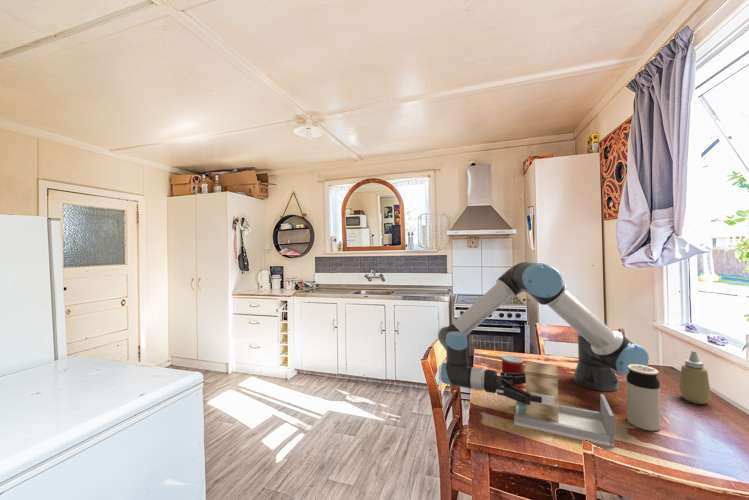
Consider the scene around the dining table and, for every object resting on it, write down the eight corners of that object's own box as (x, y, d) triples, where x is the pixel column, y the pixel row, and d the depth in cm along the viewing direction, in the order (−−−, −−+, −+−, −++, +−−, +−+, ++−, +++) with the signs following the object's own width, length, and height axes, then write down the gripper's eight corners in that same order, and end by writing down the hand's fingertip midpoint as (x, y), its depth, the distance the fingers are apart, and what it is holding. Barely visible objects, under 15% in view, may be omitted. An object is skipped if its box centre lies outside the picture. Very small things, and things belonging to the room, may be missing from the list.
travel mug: (663, 434, 93) (662, 375, 93) (629, 427, 97) (628, 370, 97) (656, 421, 100) (656, 366, 100) (625, 415, 104) (624, 362, 104)
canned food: (525, 389, 124) (525, 362, 124) (504, 388, 126) (504, 361, 125) (520, 381, 131) (520, 355, 131) (500, 379, 133) (500, 354, 133)
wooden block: (557, 412, 104) (556, 365, 104) (559, 427, 96) (558, 376, 96) (526, 406, 109) (525, 361, 108) (525, 419, 100) (524, 371, 100)
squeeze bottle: (703, 397, 115) (702, 349, 114) (716, 408, 107) (715, 356, 107) (674, 393, 118) (674, 346, 118) (685, 403, 111) (684, 353, 111)
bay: (604, 422, 100) (604, 394, 100) (614, 447, 88) (613, 415, 88) (516, 404, 112) (516, 380, 112) (514, 424, 100) (513, 397, 100)
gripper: (489, 377, 122) (551, 387, 112) (479, 406, 99) (555, 422, 90) (488, 358, 121) (550, 366, 112) (478, 383, 99) (555, 397, 90)
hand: (553, 391), depth 101 cm, fingers open, 13 cm apart
